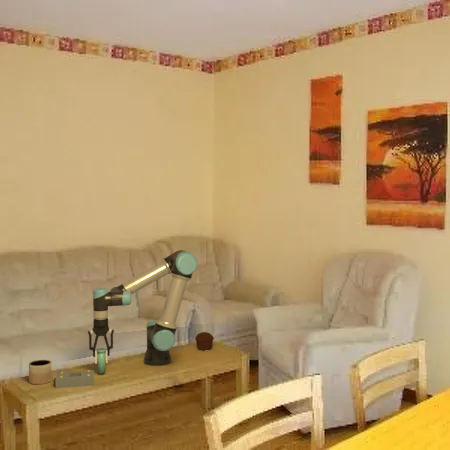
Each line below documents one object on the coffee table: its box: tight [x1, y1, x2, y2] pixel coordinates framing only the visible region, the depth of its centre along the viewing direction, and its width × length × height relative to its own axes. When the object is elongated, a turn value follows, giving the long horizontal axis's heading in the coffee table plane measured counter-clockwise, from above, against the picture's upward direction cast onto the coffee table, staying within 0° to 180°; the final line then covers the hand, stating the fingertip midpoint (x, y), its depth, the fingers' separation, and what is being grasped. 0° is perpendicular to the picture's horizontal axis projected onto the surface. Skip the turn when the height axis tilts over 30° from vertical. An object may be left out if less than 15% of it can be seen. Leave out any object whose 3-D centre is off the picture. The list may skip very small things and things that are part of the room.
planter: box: [28, 359, 53, 385], centre depth 288 cm, size 11×11×10 cm
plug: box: [96, 347, 107, 374], centre depth 299 cm, size 5×5×12 cm
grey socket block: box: [55, 369, 95, 389], centre depth 286 cm, size 18×12×5 cm, turn 103°
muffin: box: [194, 331, 215, 352], centre depth 350 cm, size 12×11×10 cm
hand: (101, 362), depth 299 cm, fingers closed on plug, 5 cm apart
